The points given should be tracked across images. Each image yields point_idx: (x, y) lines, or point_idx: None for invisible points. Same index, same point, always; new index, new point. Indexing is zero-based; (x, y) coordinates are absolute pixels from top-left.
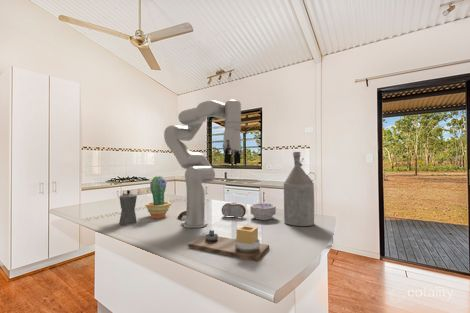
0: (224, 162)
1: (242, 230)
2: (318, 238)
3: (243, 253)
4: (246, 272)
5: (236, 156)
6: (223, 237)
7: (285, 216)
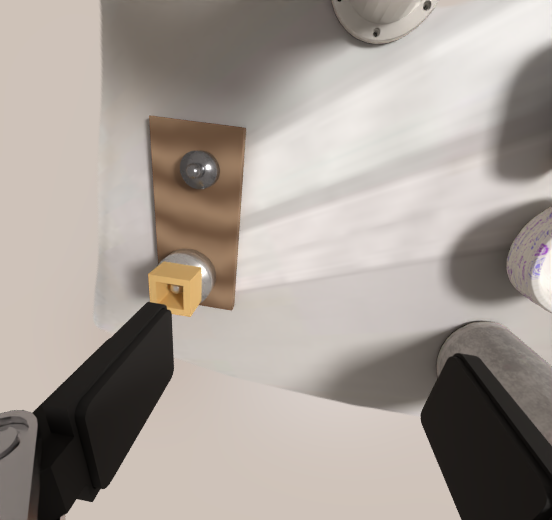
0: (146, 304)
1: (149, 288)
2: (337, 388)
3: None
4: (119, 286)
5: (500, 498)
6: (237, 193)
7: (478, 339)
